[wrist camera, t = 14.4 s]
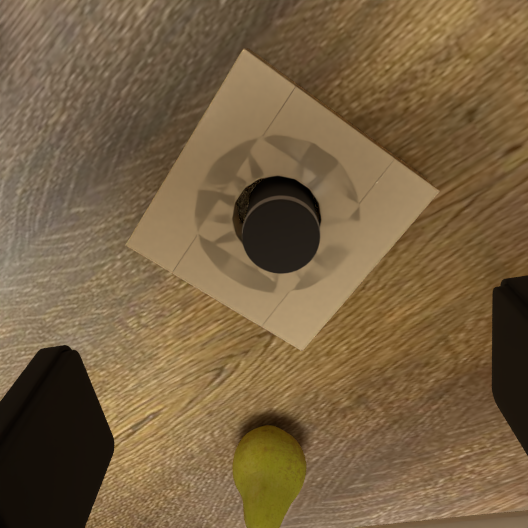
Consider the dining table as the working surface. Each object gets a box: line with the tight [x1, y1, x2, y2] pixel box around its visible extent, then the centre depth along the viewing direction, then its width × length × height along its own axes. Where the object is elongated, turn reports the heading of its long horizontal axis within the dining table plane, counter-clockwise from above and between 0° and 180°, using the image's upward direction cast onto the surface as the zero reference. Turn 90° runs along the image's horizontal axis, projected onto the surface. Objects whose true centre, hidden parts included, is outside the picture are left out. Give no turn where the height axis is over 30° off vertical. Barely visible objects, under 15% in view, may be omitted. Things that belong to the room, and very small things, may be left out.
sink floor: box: [126, 48, 439, 351], centre depth 32 cm, size 14×14×3 cm
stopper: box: [242, 176, 320, 274], centre depth 30 cm, size 4×4×6 cm
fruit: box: [233, 425, 306, 528], centre depth 36 cm, size 6×6×12 cm
